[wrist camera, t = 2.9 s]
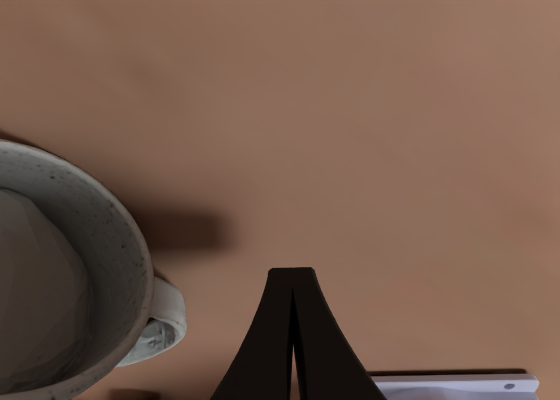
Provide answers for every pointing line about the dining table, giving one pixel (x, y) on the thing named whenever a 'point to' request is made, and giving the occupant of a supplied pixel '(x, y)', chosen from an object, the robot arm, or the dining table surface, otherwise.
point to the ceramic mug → (73, 281)
